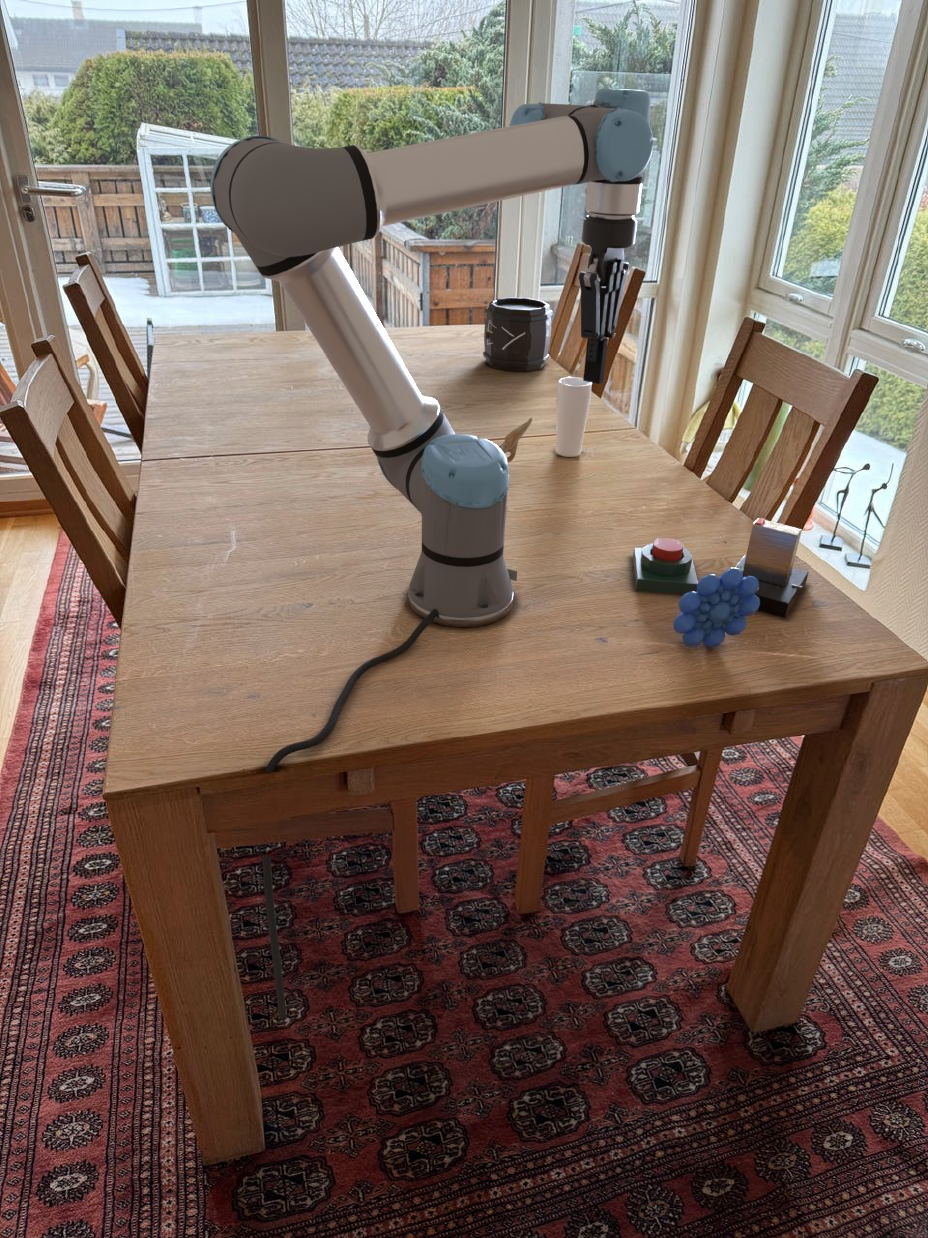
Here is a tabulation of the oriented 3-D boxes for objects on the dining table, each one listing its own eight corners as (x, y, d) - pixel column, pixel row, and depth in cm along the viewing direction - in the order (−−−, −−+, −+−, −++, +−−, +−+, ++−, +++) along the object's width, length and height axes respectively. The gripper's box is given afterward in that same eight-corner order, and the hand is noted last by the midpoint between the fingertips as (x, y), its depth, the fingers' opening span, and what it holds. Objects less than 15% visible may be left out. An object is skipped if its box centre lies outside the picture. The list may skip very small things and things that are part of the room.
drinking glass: (546, 455, 187) (552, 382, 180) (559, 445, 192) (565, 374, 185) (577, 461, 185) (584, 388, 177) (589, 451, 190) (597, 380, 182)
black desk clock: (472, 356, 252) (474, 297, 244) (533, 353, 257) (537, 295, 249) (493, 374, 237) (496, 311, 229) (557, 370, 242) (562, 309, 234)
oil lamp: (531, 474, 177) (534, 425, 172) (421, 473, 176) (421, 423, 171) (526, 458, 185) (529, 410, 180) (420, 457, 184) (421, 408, 178)
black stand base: (787, 619, 132) (791, 603, 131) (715, 598, 137) (718, 582, 136) (807, 586, 141) (811, 571, 140) (739, 568, 146) (742, 553, 145)
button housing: (695, 595, 138) (700, 572, 136) (635, 590, 138) (639, 567, 136) (688, 562, 147) (692, 540, 145) (632, 558, 148) (635, 535, 146)
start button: (682, 563, 139) (685, 552, 138) (652, 561, 139) (654, 549, 138) (680, 550, 143) (682, 539, 142) (650, 548, 143) (652, 536, 142)
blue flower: (737, 628, 130) (753, 552, 124) (757, 654, 124) (775, 575, 118) (658, 632, 128) (671, 555, 122) (675, 658, 122) (689, 579, 116)
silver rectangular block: (789, 580, 137) (802, 527, 133) (784, 587, 136) (797, 533, 131) (747, 568, 140) (758, 516, 136) (741, 575, 138) (753, 522, 134)
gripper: (605, 208, 135) (588, 368, 147) (566, 216, 125) (552, 386, 137) (653, 213, 132) (632, 376, 144) (617, 222, 122) (597, 395, 134)
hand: (593, 381), depth 141 cm, fingers closed
